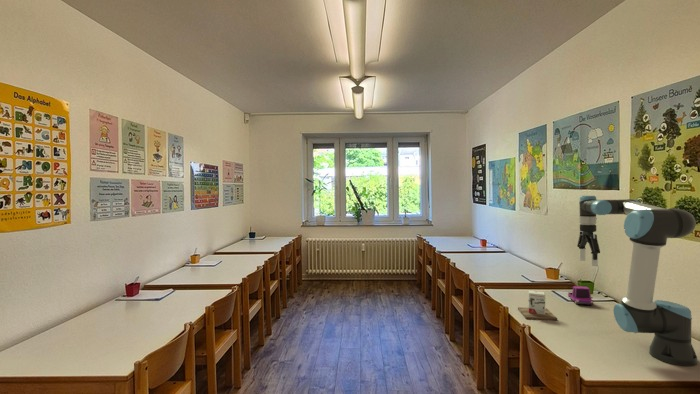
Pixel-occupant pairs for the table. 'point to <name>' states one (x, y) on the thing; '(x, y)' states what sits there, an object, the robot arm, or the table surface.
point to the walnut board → (528, 315)
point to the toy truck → (581, 295)
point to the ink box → (536, 302)
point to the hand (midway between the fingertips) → (588, 263)
